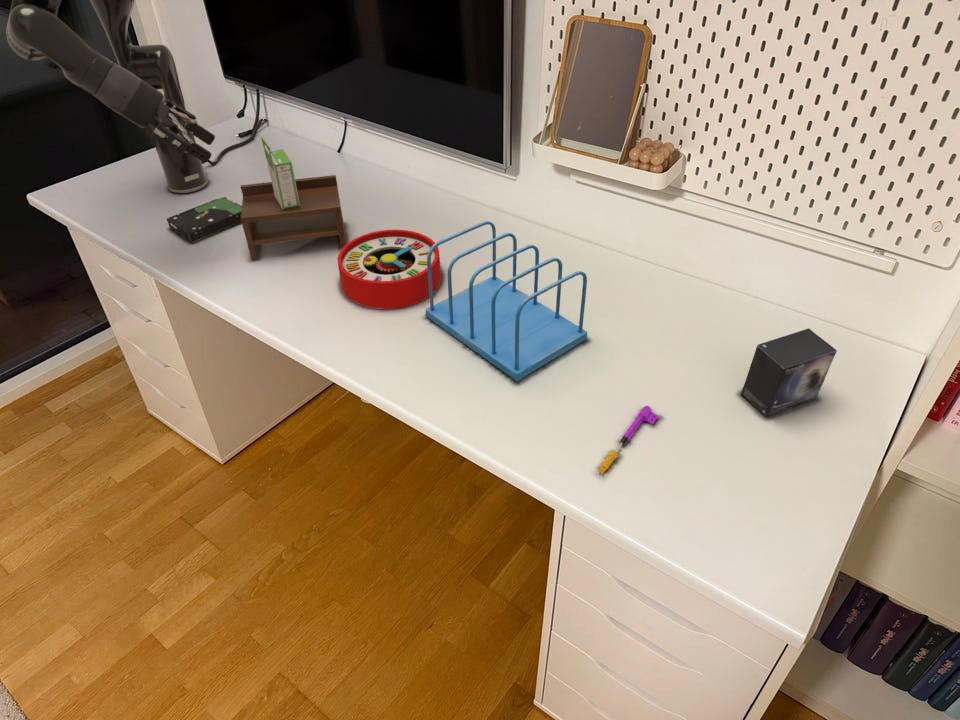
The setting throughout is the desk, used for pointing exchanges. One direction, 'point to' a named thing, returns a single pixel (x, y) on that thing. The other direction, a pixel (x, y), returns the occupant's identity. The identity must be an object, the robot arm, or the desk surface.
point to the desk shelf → (292, 213)
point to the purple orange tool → (630, 434)
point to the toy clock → (388, 269)
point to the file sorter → (506, 314)
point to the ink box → (282, 177)
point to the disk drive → (206, 219)
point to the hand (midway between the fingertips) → (211, 149)
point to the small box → (787, 372)
